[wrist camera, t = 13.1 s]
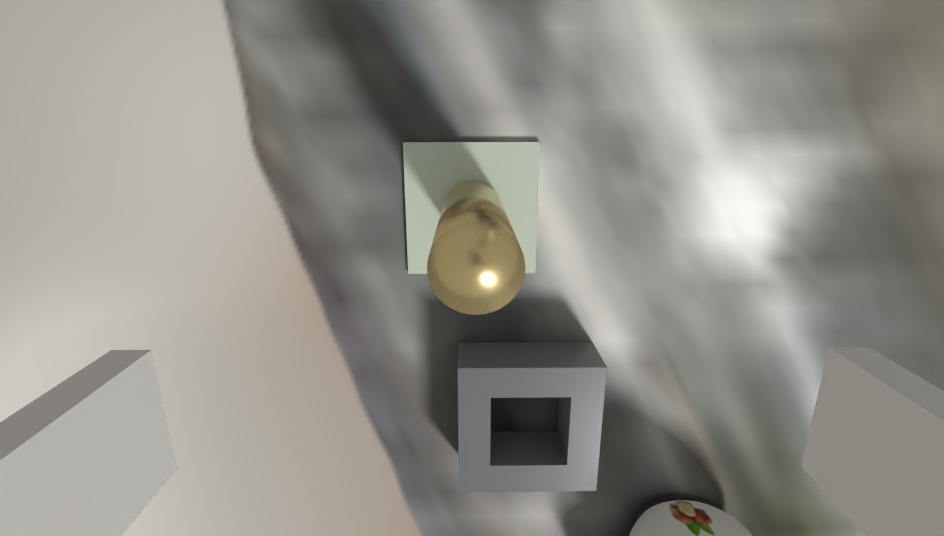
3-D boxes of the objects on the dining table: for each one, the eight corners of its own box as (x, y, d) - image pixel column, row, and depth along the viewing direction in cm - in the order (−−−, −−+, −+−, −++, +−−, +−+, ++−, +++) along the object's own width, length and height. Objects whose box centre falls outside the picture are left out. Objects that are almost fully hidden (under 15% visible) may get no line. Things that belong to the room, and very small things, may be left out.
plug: (442, 180, 33) (425, 220, 19) (502, 180, 33) (526, 220, 19) (443, 238, 34) (428, 315, 20) (501, 238, 34) (523, 314, 20)
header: (458, 342, 36) (457, 368, 32) (592, 341, 36) (606, 367, 33) (459, 455, 39) (459, 492, 35) (583, 455, 39) (596, 490, 35)
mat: (403, 142, 32) (402, 142, 32) (539, 141, 32) (540, 142, 32) (408, 272, 35) (408, 273, 34) (534, 271, 35) (535, 272, 35)
